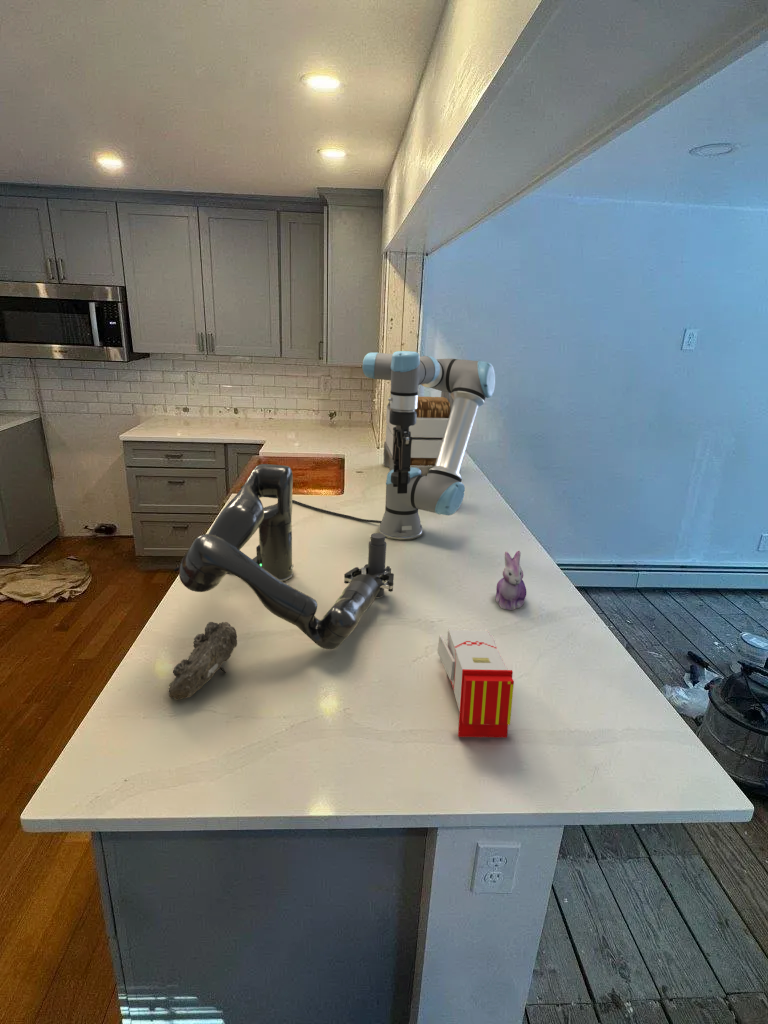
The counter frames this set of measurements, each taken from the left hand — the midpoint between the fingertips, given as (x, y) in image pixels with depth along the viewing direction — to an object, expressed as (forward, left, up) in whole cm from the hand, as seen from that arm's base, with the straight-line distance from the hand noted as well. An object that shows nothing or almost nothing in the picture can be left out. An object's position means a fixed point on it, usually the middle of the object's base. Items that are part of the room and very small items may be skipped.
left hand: (379, 567), depth 157 cm
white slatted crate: (-18, +122, -7) cm, 124 cm away
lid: (+1, +15, +23) cm, 27 cm away
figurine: (+36, +6, -7) cm, 37 cm away
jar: (0, -3, -7) cm, 7 cm away
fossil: (-23, -49, -7) cm, 55 cm away
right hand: (+1, +15, +19) cm, 24 cm away
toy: (+32, -36, -7) cm, 49 cm away
